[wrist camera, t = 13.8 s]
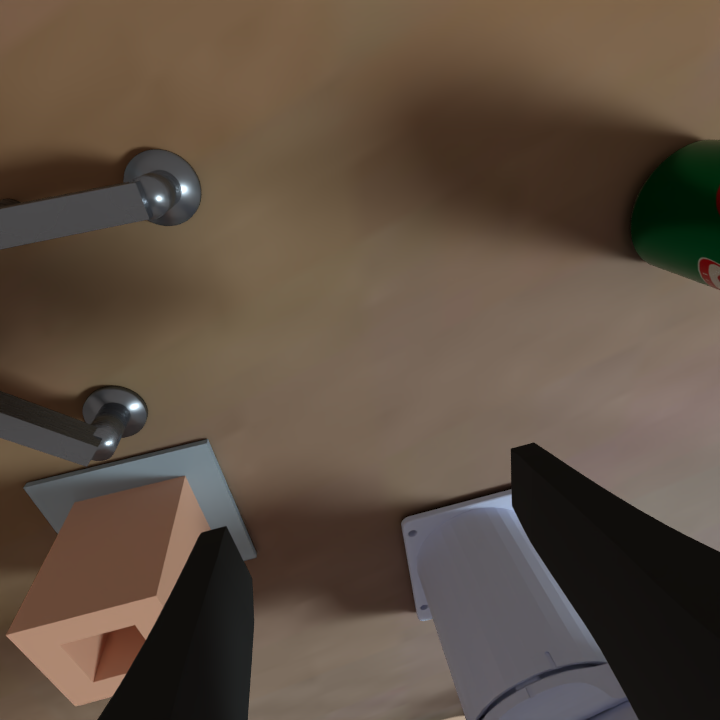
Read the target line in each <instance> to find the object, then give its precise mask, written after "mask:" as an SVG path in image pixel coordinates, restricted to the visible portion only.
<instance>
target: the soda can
mask: <svg viewBox="0 0 720 720" xmlns="http://www.w3.org/2000/svg"><path fill="white" fill-rule="evenodd" d="M631 236H632V242H633V245H634V248H635V250H636V251H637V253H638V255H639V256H640V257H641V258H642V259H643V260H644V261H645V262H647V263H648V264H650V265H653V266H656V267H658V268H661V269H664V270H666V271H669V272H672V273H675V274H677V275H680V276H683V277H686V278H688V279H691V280H694V281H696V282H699V283H702V284H705V285H707V286H710V287H713V288H716V289H718V290H720V140H703V141H698V142H695V143H692V144H689V145H687V146H685V147H683V148H681V149H679V150H678V151H676V152H675V153H673V154H672V155H671V156H669V157H668V158H667V159H666V160H665V161H664V162H662V163H661V164H660V165H659V166H658V167H657V168H656V169H655V170H654V172H653V173H652V174H651V175H650V176H649V178H648V179H647V180H646V182H645V183H644V185H643V186H642V188H641V190H640V191H639V193H638V196H637V198H636V200H635V203H634V206H633V210H632V215H631Z"/></svg>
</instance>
